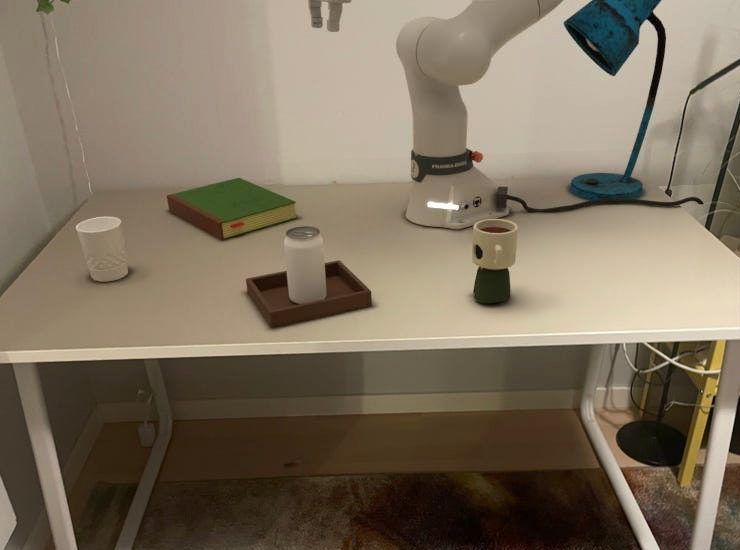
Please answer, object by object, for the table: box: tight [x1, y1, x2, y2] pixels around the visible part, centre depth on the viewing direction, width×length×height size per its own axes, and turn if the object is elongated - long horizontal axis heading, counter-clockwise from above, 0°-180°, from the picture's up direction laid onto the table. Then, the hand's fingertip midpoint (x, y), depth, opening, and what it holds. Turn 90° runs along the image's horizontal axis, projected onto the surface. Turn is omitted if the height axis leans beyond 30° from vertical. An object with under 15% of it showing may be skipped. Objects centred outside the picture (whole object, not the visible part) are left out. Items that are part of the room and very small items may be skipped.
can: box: [283, 225, 326, 304], centre depth 125 cm, size 6×6×12 cm
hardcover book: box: [166, 177, 298, 241], centre depth 166 cm, size 25×19×4 cm
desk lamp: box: [563, 0, 667, 201], centre depth 161 cm, size 16×22×45 cm
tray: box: [245, 260, 373, 329], centre depth 128 cm, size 18×15×3 cm
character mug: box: [471, 218, 519, 304], centre depth 123 cm, size 11×7×13 cm, turn 179°
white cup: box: [75, 216, 129, 283], centre depth 138 cm, size 8×8×10 cm
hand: (324, 29), depth 134 cm, fingers open, 8 cm apart
